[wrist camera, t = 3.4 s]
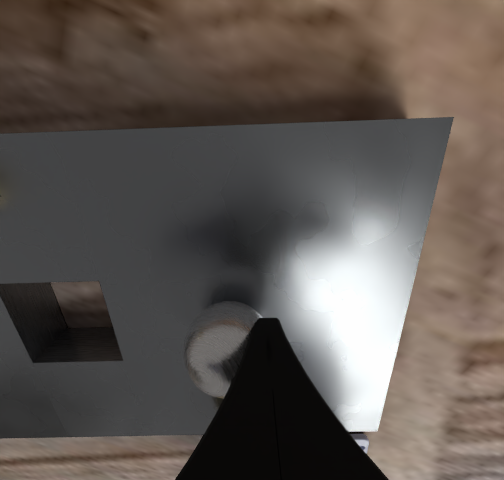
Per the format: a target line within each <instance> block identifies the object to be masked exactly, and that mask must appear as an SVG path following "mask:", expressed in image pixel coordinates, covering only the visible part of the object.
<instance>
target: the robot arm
mask: <svg viewBox="0 0 504 480" xmlns="http://www.w3.org/2000/svg"><path fill="white" fill-rule="evenodd" d="M368 446H369V440H368V438H367V436H366V435H365V434H349V432H348V431H347V430H346V428H345V427H344V426H343V425H342V423H341V422H340V421H339V419H338V418H337V417H336V415H335V414H334V413H333V411H332V410H331V409H330V407H329V406H328V405H327V403H326V402H325V400H324V399H323V398H322V396H321V395H320V393H319V392H318V390H317V389H316V387H315V386H314V384H313V383H312V381H311V380H310V378H309V376H308V375H307V373H306V372H305V370H304V368H303V367H302V365H301V363H300V361H299V360H298V358H297V356H296V355H295V353H294V351H293V349H292V347H291V345H290V343H289V341H288V339H287V337H286V335H285V333H284V331H283V328H282V326H281V323H280V320H279V319H278V318H259V319H258V320H257V321H256V322H255V323H254V326H253V327H252V329H251V332H250V336H249V339H248V342H247V346H246V348H245V351H244V354H243V356H242V359H241V362H240V364H239V367H238V369H237V371H236V374H235V376H234V378H233V380H232V382H231V385H230V387H229V389H228V391H227V393H226V395H225V397H224V399H223V401H222V403H221V405H220V407H219V409H218V410H217V412H216V414H215V416H214V418H213V420H212V421H211V423H210V425H209V426H208V428H207V430H206V432H205V433H204V435H203V437H202V438H201V440H200V442H199V443H198V445H197V447H196V448H195V450H194V452H193V453H192V455H191V456H190V458H189V459H188V461H187V463H186V464H185V466H184V467H183V469H182V470H181V472H180V473H179V474H178V476H177V477H176V479H175V480H388V478H387V477H386V476H385V475H384V474H383V473H382V471H381V470H380V469H379V468H378V467H377V466H376V464H375V463H374V462H373V461H372V460H371V459H370V457H369V456H368V455H367V450H368Z"/></svg>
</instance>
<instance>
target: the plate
mask: <svg viewBox="0 0 504 480" xmlns="http://www.w3.org/2000/svg"><path fill="white" fill-rule="evenodd" d="M453 118H454V117H443V118H416V119H389V120H362V121H334V122H307V123H280V124H253V125H225V126H198V127H171V128H144V129H116V130H89V131H62V132H35V133H7V134H0V438H46V437H99V436H151V435H204V433H205V432H206V430H207V428H208V426H209V424H210V423H211V421H212V420H213V418H214V416H215V414H216V412H217V410H218V409H219V407H220V405H221V403H222V401H223V399H222V398H216V397H213V396H210V395H208V394H206V393H205V392H203V391H202V390H200V389H199V388H198V387H197V386H196V385H195V384H194V382H193V381H192V380H191V378H190V376H189V374H188V372H187V370H186V367H185V363H184V357H183V346H184V340H185V336H186V333H187V331H188V329H189V327H190V325H191V323H192V322H193V320H194V319H195V318H196V317H197V316H198V314H200V313H201V312H202V311H203V310H204V309H206V308H207V307H209V306H211V305H213V304H215V303H219V302H223V301H236V302H241V303H244V304H246V305H249V306H250V307H252V308H253V309H255V310H256V311H257V312H258V313H259V314H260V315H261V316H262V317H263V318H278V319H279V320H280V323H281V326H282V328H283V331H284V333H285V335H286V337H287V339H288V341H289V343H290V345H291V347H292V349H293V351H294V353H295V355H296V356H297V358H298V360H299V361H300V363H301V365H302V367H303V368H304V370H305V372H306V373H307V375H308V376H309V378H310V380H311V381H312V383H313V384H314V386H315V387H316V389H317V390H318V392H319V393H320V395H321V396H322V398H323V399H324V400H325V402H326V403H327V405H328V406H329V407H330V409H331V410H332V411H333V413H334V414H335V415H336V417H337V418H338V419H339V421H340V422H341V423H342V425H343V426H344V427H345V428H346V430H347V431H348V432H361V431H378V427H379V423H380V419H381V414H382V410H383V406H384V402H385V398H386V394H387V390H388V386H389V381H390V377H391V373H392V369H393V365H394V361H395V357H396V353H397V349H398V344H399V340H400V336H401V332H402V328H403V324H404V320H405V316H406V311H407V307H408V303H409V299H410V295H411V291H412V287H413V283H414V278H415V274H416V270H417V266H418V262H419V258H420V254H421V250H422V245H423V241H424V237H425V233H426V229H427V225H428V221H429V217H430V213H431V208H432V204H433V200H434V196H435V192H436V188H437V184H438V180H439V175H440V171H441V167H442V163H443V159H444V155H445V151H446V147H447V142H448V138H449V134H450V130H451V126H452V122H453ZM80 281H99V282H100V285H101V289H102V292H103V295H104V299H105V302H106V305H107V309H108V312H109V315H110V318H111V322H112V325H113V327H110V328H70V329H68V328H67V326H66V323H65V321H64V318H63V316H62V313H61V310H60V308H59V305H58V303H57V300H56V298H55V295H54V293H53V290H52V287H51V285H50V282H80Z"/></svg>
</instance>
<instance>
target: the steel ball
mask: <svg viewBox="0 0 504 480" xmlns="http://www.w3.org/2000/svg"><path fill="white" fill-rule="evenodd" d="M259 318H263V317H262V316H261V315H260V314H259V313H258V312H257V311H256V310H255V309H253V308H252V307H250V306H249V305H246V304H244V303H241V302H236V301H223V302H219V303H215V304H213V305H211V306H209V307H207V308H206V309H204V310H203V311H202V312H201V313H200V314H198V316H197V317H196V318H195V319H194V320H193V322H192V323H191V325H190V327H189V329H188V331H187V333H186V336H185V340H184V346H183V357H184V363H185V367H186V370H187V372H188V374H189V376H190V378H191V380H192V381H193V382H194V384H195V385H196V386H197V387H198V388H199V389H200V390H202V391H203V392H205V393H206V394H208V395H210V396H213V397H216V398H222V399H224V397H225V395H226V393H227V391H228V389H229V387H230V385H231V382H232V380H233V378H234V376H235V374H236V371H237V369H238V367H239V364H240V362H241V359H242V356H243V354H244V351H245V348H246V346H247V342H248V339H249V336H250V332H251V329H252V327H253V326H254V323H255V322H256V321H257V320H258V319H259Z"/></svg>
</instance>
